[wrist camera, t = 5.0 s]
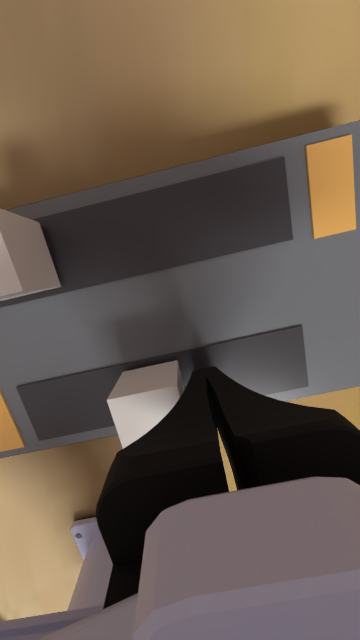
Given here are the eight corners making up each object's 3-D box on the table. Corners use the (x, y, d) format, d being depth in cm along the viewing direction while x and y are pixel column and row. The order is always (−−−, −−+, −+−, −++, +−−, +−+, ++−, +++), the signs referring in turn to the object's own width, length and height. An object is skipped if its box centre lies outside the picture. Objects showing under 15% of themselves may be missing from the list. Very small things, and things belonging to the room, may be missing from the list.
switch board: (351, 367, 14) (381, 383, 12) (8, 437, 15) (-20, 463, 13) (338, 144, 11) (374, 115, 9) (-80, 248, 12) (-132, 243, 10)
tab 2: (189, 409, 12) (192, 446, 9) (137, 419, 12) (126, 458, 9) (177, 360, 11) (177, 385, 9) (122, 371, 11) (106, 399, 9)
